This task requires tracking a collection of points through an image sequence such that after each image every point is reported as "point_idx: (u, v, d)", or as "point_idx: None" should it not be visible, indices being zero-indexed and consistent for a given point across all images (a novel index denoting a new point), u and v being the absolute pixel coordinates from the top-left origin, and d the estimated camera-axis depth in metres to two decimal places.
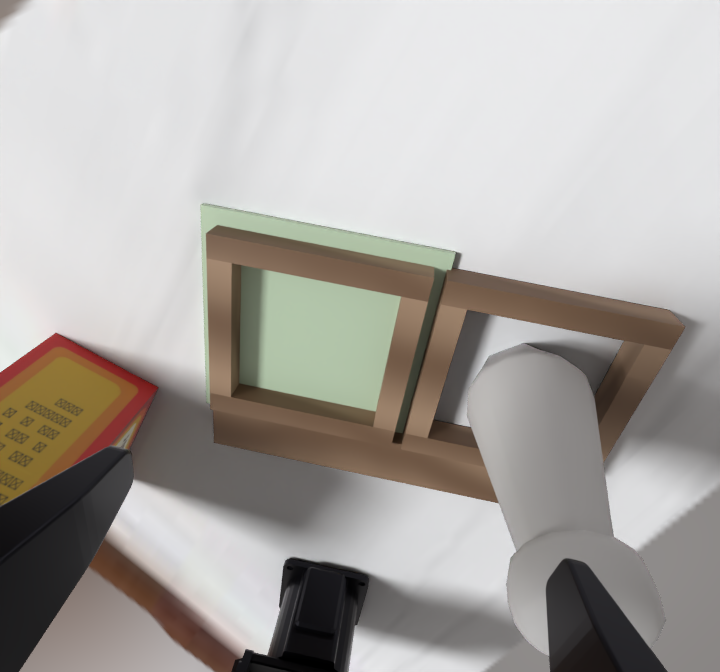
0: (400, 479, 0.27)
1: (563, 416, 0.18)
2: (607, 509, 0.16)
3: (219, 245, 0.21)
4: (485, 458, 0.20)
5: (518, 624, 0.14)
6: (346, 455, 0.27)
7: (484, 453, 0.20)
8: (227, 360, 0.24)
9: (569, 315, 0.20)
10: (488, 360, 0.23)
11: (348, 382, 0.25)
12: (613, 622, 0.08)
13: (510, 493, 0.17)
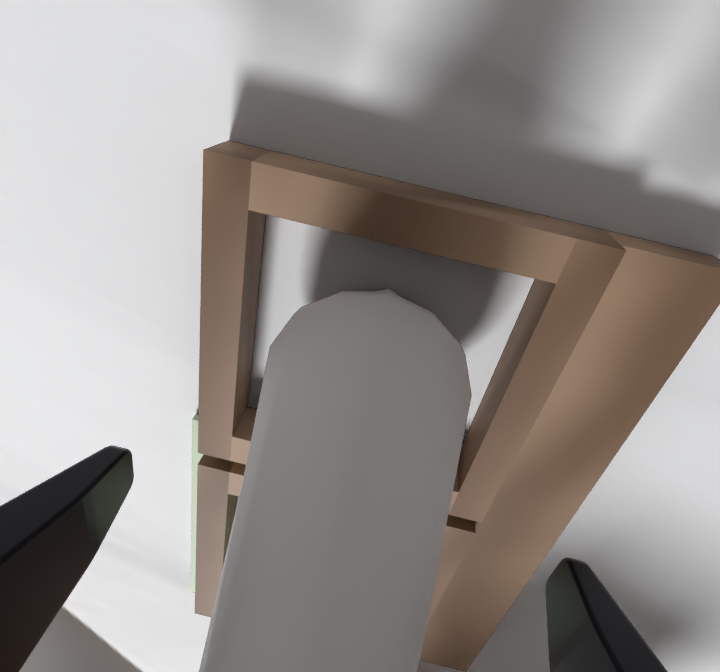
0: (560, 523, 0.16)
1: None
2: (230, 593, 0.07)
3: (204, 608, 0.22)
4: None
5: None
6: (498, 571, 0.18)
7: None
8: None
9: (217, 324, 0.14)
10: None
11: None
12: (613, 622, 0.08)
13: None
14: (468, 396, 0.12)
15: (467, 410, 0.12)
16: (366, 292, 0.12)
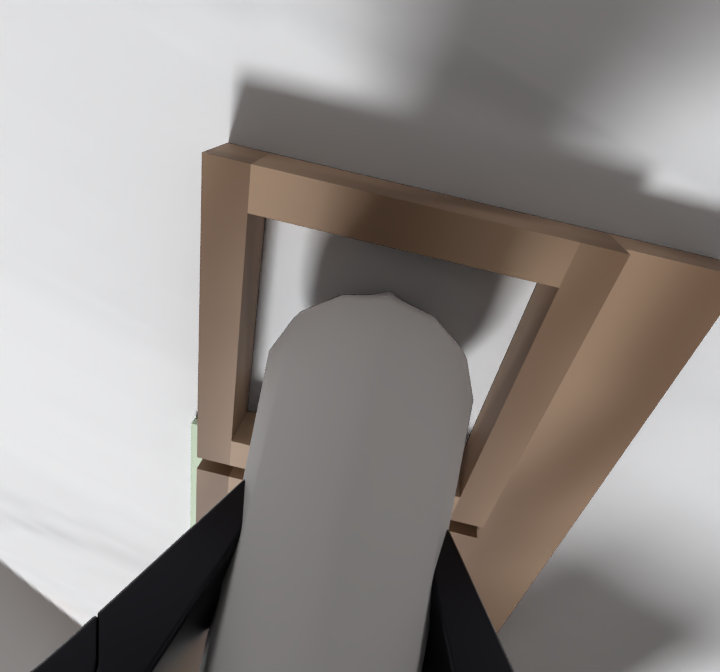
0: (563, 528, 0.16)
1: None
2: (227, 607, 0.07)
3: None
4: None
5: None
6: (500, 576, 0.18)
7: None
8: None
9: (216, 328, 0.13)
10: None
11: None
12: (453, 582, 0.08)
13: None
14: (470, 401, 0.12)
15: (469, 416, 0.12)
16: (367, 296, 0.12)
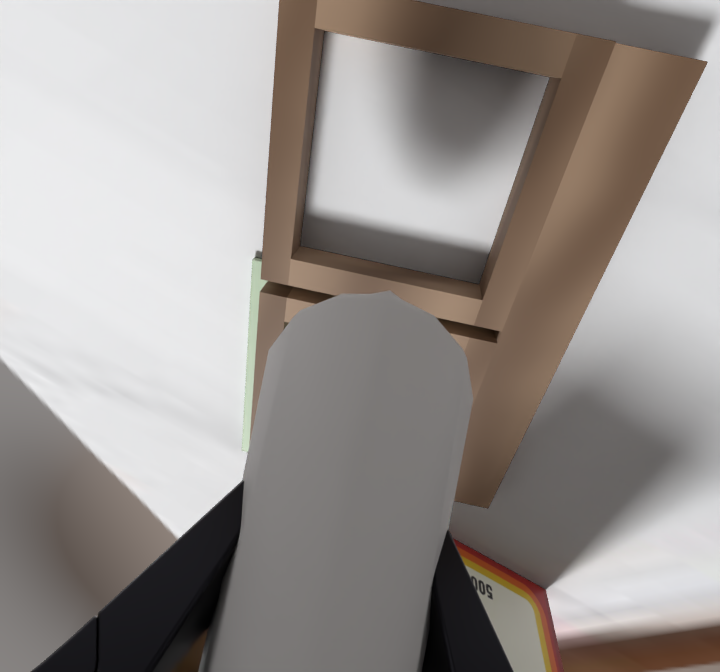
0: (569, 331, 0.19)
1: None
2: (227, 606, 0.07)
3: None
4: None
5: None
6: (516, 389, 0.21)
7: None
8: None
9: (283, 142, 0.17)
10: None
11: None
12: (453, 582, 0.08)
13: None
14: (470, 400, 0.12)
15: (469, 414, 0.12)
16: (366, 295, 0.12)
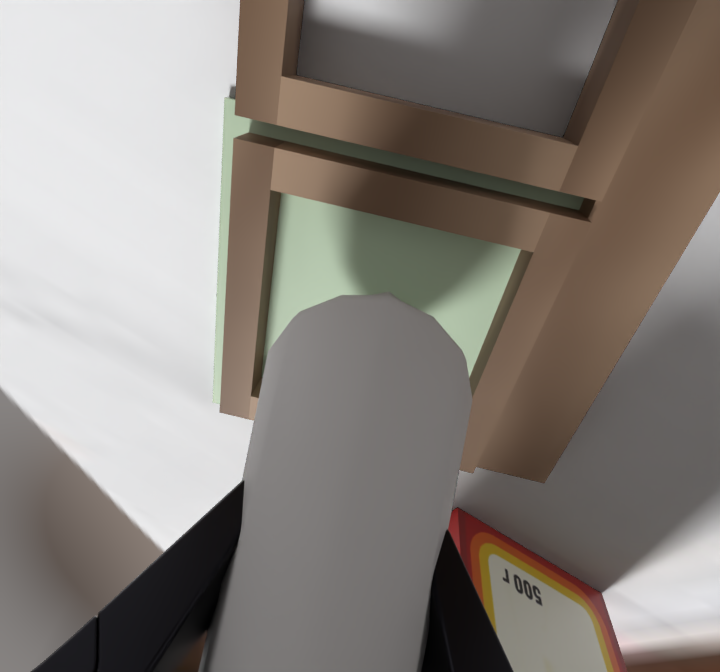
0: (703, 204, 0.13)
1: None
2: (226, 608, 0.07)
3: (231, 402, 0.18)
4: None
5: None
6: (608, 303, 0.15)
7: None
8: None
9: None
10: None
11: (458, 277, 0.16)
12: (453, 582, 0.08)
13: None
14: (469, 401, 0.12)
15: (468, 416, 0.12)
16: (366, 296, 0.12)
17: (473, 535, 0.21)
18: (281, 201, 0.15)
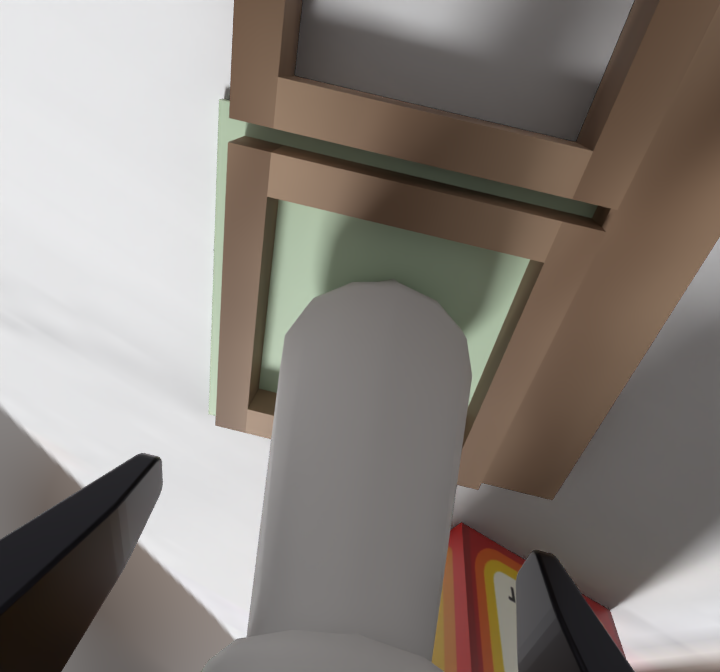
0: None
1: (274, 430, 0.11)
2: (277, 546, 0.08)
3: (227, 416, 0.17)
4: None
5: None
6: (622, 315, 0.14)
7: None
8: None
9: None
10: None
11: (464, 287, 0.15)
12: (577, 613, 0.08)
13: None
14: (470, 377, 0.13)
15: (469, 389, 0.13)
16: (375, 282, 0.13)
17: (478, 552, 0.20)
18: (279, 208, 0.14)
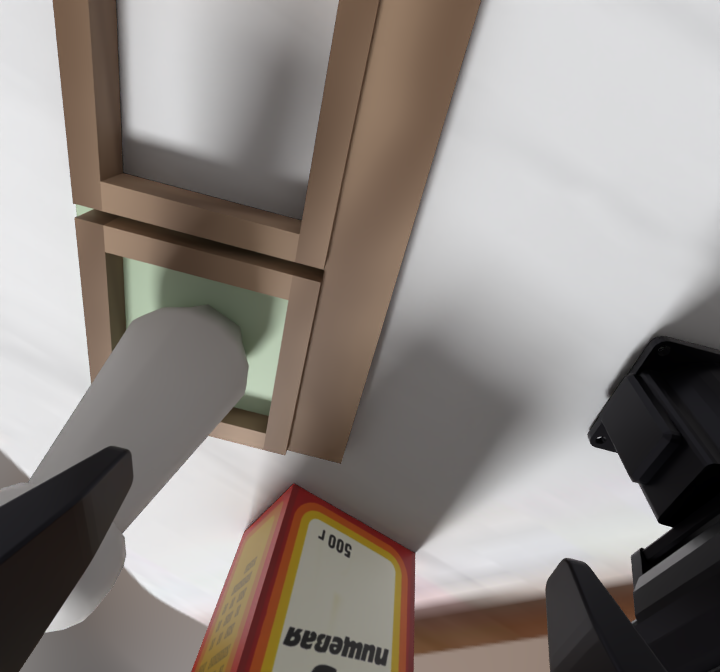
0: (392, 273, 0.19)
1: None
2: (45, 455, 0.14)
3: None
4: None
5: None
6: (350, 335, 0.21)
7: None
8: (219, 424, 0.24)
9: (71, 47, 0.16)
10: None
11: (255, 312, 0.22)
12: (613, 622, 0.08)
13: None
14: (240, 373, 0.20)
15: (236, 381, 0.20)
16: (176, 308, 0.20)
17: (301, 504, 0.27)
18: None
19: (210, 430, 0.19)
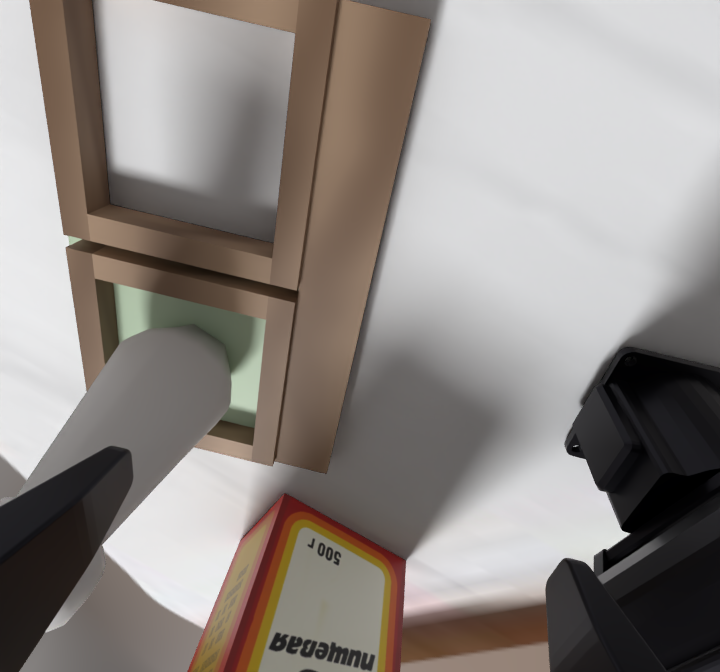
0: (363, 292, 0.20)
1: None
2: (33, 471, 0.16)
3: None
4: None
5: None
6: (327, 351, 0.22)
7: None
8: (209, 437, 0.25)
9: (56, 95, 0.17)
10: None
11: (238, 330, 0.23)
12: (613, 622, 0.08)
13: None
14: (222, 389, 0.21)
15: (218, 397, 0.21)
16: (161, 329, 0.21)
17: (292, 513, 0.28)
18: None
19: (193, 444, 0.20)
